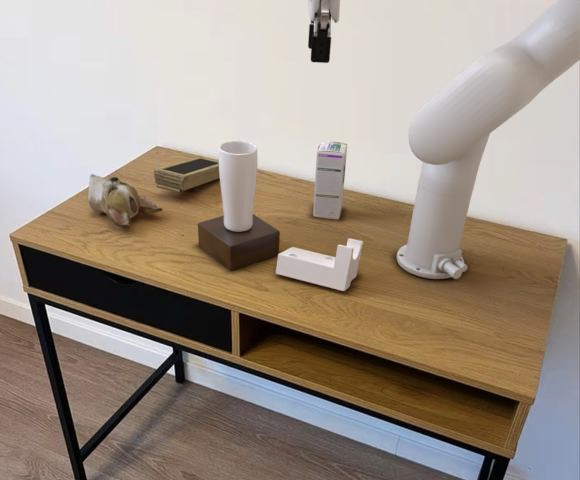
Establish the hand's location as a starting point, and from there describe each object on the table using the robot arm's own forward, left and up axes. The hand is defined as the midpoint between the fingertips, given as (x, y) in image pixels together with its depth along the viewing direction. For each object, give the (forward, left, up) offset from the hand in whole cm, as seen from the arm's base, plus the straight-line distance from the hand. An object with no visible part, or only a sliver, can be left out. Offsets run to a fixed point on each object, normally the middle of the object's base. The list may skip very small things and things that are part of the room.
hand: (318, 55), depth 113 cm
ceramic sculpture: (+15, +35, -32) cm, 50 cm away
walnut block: (-6, +18, -32) cm, 38 cm away
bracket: (-20, +8, -32) cm, 39 cm away
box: (+26, +15, -32) cm, 44 cm away
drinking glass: (-6, +18, -28) cm, 33 cm away
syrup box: (+2, -6, -32) cm, 33 cm away
